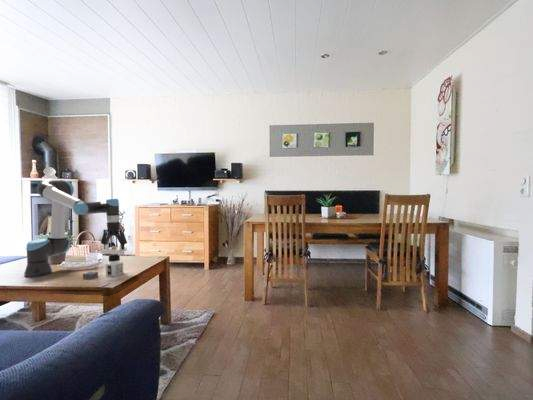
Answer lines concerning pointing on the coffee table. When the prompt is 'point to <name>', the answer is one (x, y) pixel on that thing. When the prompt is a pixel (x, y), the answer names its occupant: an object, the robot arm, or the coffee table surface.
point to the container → (114, 266)
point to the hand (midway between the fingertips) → (114, 254)
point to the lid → (112, 250)
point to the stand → (90, 275)
